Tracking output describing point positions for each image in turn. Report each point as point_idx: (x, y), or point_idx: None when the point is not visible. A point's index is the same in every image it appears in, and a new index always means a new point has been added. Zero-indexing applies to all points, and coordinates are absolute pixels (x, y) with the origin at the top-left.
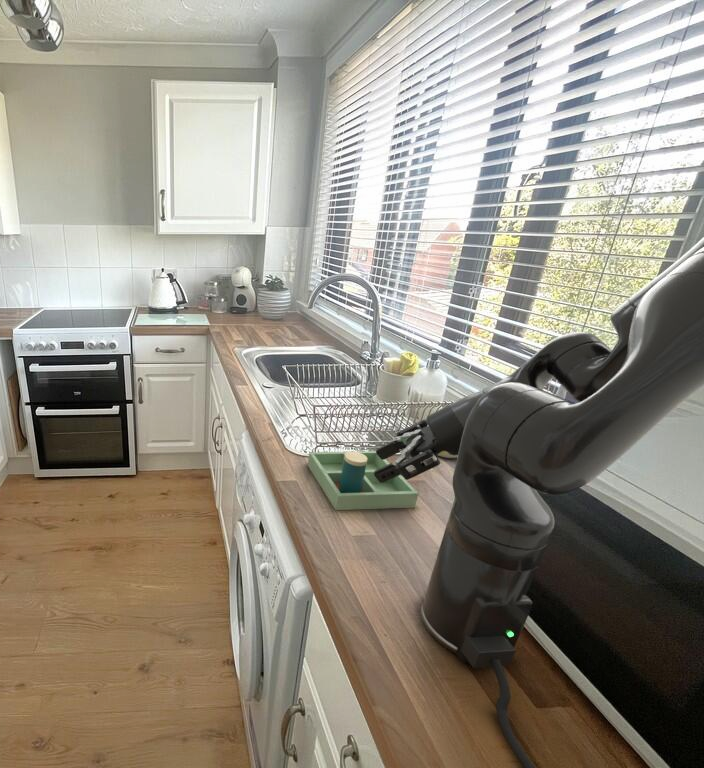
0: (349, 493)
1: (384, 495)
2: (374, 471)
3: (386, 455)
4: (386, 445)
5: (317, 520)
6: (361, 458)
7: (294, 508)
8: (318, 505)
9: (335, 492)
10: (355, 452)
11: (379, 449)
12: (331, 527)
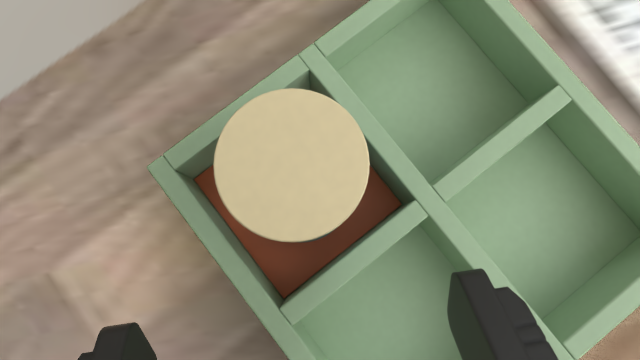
0: (193, 206)
1: (286, 355)
2: (129, 324)
3: (463, 349)
4: (496, 353)
5: (71, 137)
6: (288, 201)
7: (96, 42)
8: (167, 112)
9: (173, 148)
10: (351, 144)
11: (464, 296)
12: (57, 193)
